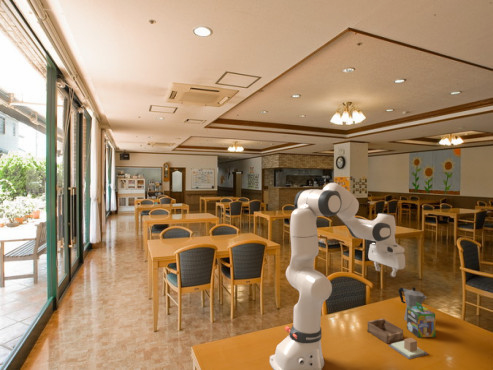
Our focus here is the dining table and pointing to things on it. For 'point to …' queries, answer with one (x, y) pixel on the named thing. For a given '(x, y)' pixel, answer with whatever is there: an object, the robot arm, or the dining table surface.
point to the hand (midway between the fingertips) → (385, 273)
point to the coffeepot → (411, 298)
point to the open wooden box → (385, 330)
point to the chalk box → (421, 321)
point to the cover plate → (401, 347)
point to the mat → (406, 355)
